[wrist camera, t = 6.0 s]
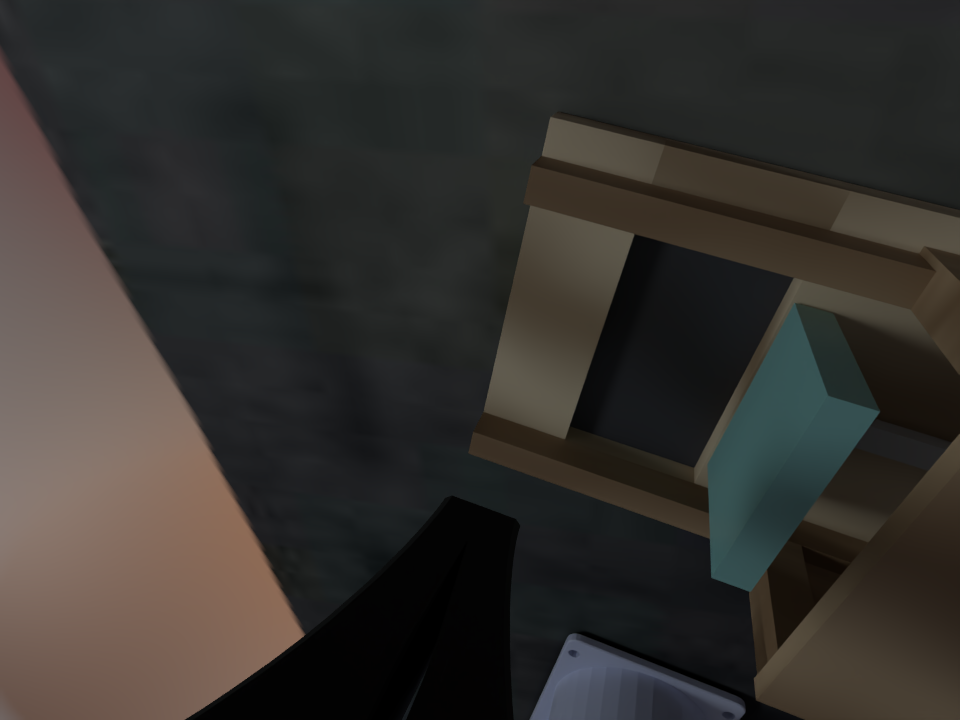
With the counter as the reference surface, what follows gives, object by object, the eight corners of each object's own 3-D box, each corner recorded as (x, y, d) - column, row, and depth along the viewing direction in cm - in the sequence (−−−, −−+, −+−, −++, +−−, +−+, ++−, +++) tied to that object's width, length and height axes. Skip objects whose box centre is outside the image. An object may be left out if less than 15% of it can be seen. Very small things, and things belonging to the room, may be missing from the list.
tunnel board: (1113, 655, 19) (1293, 929, 13) (482, 436, 22) (412, 578, 17) (1548, 354, 12) (2274, 642, 7) (557, 111, 16) (484, 165, 10)
